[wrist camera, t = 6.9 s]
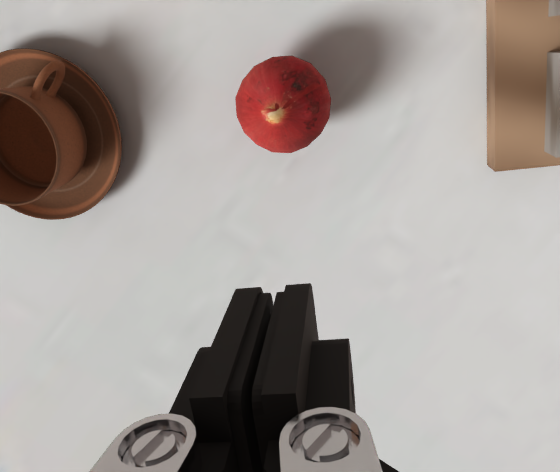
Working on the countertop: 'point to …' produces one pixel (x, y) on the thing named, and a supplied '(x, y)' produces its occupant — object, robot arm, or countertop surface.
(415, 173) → the countertop surface
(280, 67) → the red fruit
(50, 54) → the cup and saucer
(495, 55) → the button board
